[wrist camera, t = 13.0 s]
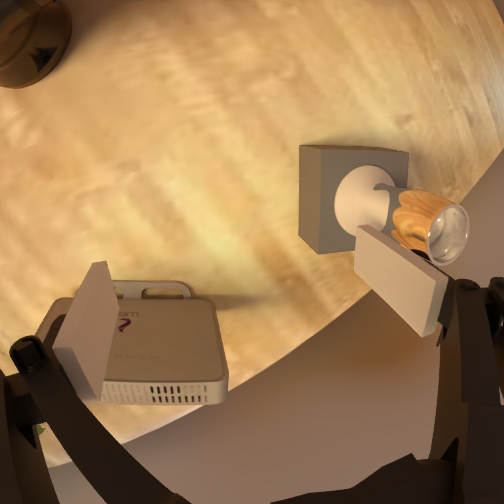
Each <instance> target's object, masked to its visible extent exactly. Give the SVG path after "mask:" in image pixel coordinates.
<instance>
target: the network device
mask: <svg viewBox="0 0 504 504" xmlns="http://www.w3.org/2000/svg"><path fill="white" fill-rule="evenodd" d="M112 283H113V287H114V288H119V289H120V290H121V291H122V292H123V299H117V301H118V304H119V307H120V309H119V313H118V317H117V321H116V325H115V330H114V334H113V338H112V343H111V347H110V352H109V357H108V362H107V367H106V372H105V377H104V382H103V388H102V393H101V399H100V403H108V404H127V405H206V404H218V403H222V402H223V401H225V400H226V398H227V396H228V379H229V370H228V366H227V361H226V357H225V352H224V347H223V343H222V338H221V333H220V328H219V323H218V319H217V314H216V309H215V304H214V303H213V302H212V301H210V300H206V299H191V292H190V290H189V289H188V287H187V286H186V285H185V284H183V283H181V282H178V281H126V280H112ZM146 288H178V289H180V290H181V291H182V292H183V297H184V299H142V291H143V290H144V289H146ZM73 300H74V298H68V297H64V298H59V299H57V300H55V301H54V303H53V304H52V306H51V308H50V309H49V311H48V313H47V314H46V316H45V318H44V319H43V321H42V323H41V325H40V326H39V328H38V330H37V332H36V333H35V335H34V336H37V337H38V338H40V340H41V342H42V343H43V341H44V339H45V337H46V334H47V332H48V331H49V328H50V326H51V324H52V322H53V321H54V320H55V319H56V318H57V317H58V316H59V315H62V314H67V313H68V311H69V309H70V307H71V304H72V302H73Z"/></svg>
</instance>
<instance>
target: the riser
mask: <svg viewBox="0 0 504 504" xmlns="http://www.w3.org/2000/svg"><path fill="white" fill-rule="evenodd" d="M408 158H409V153H407V152H402V151H397V150H391V149H385V148H380V147H362V146H330V145H299V236H300V237H301V238H302V239H303V240H304V241H305V242H306V243H307V244H308V245H309V246H310V247H311V248H312V249H313V250H314V251H315V252H316V253H317V254H318V255H319V254H327V253H336V252H345V251H353V250H355V245H356V229H357V226H359V225H367V224H369V225H370V226H372V227H373V228H375V229H377V230H378V231H380V232H381V233H383V234H384V235H386V236H388V237H389V238H391V239H392V240H394V241H395V242H397V243H398V244H400V243H399V242H398V241H397V240H396V239H395V238H394V237H393V236H392V235H391V234H390V233H389V232H388V231H387V230H386V229H385V228H384V227H383V226H382V225H380V224H378V223H374V222H370V221H367V220H365V219H364V218H363V217H362V216H361V215H360V214H359V212H358V209H357V195H358V192H359V190H360V188H361V187H362V186H363V184H364V183H366V182H367V181H369V180H371V179H374V178H379V179H383V180H385V181H386V182H388V183H389V184H391V185H392V186H394V187H397V188H407V176H408Z"/></svg>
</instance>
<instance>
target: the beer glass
mask: <svg viewBox="0 0 504 504" xmlns="http://www.w3.org/2000/svg"><path fill="white" fill-rule="evenodd" d="M357 209H358V212H359V214H360V215H361V216H362V217H363V218H364V219H365V220H367V221H370V222H374V223H378V224H380V225H382V226H383V227H384V228H385V229H386V230H387V231H388V232H389V233H390V234H391V235H392V236H393V237H394V238H395V239H396V240H397V241H398V242H399V243H400V244H402V245H403V246H404V247H406V248H407V249H408V250H410V251H412V252H413V253H415V254H417V255H419V256H421V257H422V258H425V259H427V260H429V261H431V262H433V263H434V264H436V265H439V266H444V265H447V264H450V263H451V262H453V261H454V260H455V259H456V258H457V257H458V256H459V255H460V254H461V252H462V250H463V249H464V247H465V245H466V242H467V239H468V235H469V228H470V224H469V218H468V214H467V212H466V210H465V209H464V208H463V207H462V206H460V205H458V204H455V203H454V202H452V201H450V200H448V199H446V198H444V197H442V196H439V195H437V194H435V193H432V192H428V191H425V190H419V189H410V188H397V187H394V186H392V185H391V184H389V183H388V182H386V181H385V180H383V179H379V178H374V179H371V180H369V181H367V182H366V183H364V184H363V186H362V187H361V188H360V190H359V192H358V195H357Z"/></svg>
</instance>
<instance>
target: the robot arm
mask: <svg viewBox="0 0 504 504" xmlns="http://www.w3.org/2000/svg"><path fill="white" fill-rule="evenodd" d="M71 31H72V20H71V16H70V13H69V11H68V9H67V8H66V6H65V5H64V4H63V3H62V2H61V1H59V0H0V86H1V87H5V88H11V89H19V88H24V87H27V86H30V85H32V84H34V83H36V82H38V81H39V80H41V79H42V78H43V77H45V76H46V75H47V74H48V73H49V72H50V71H51V70H52V69H53V68H54V67H55V66H56V64H57V63H58V62H59V60H60V59H61V57H62V56H63V54H64V52H65V50H66V48H67V46H68V43H69V40H70V37H71ZM354 272H355V273H356V274H357V275H358V276H359V277H360V278H362V279H363V280H364V281H365V282H366V283H367V284H368V285H369V286H370V287H371V288H372V289H373V290H374V291H375V292H376V293H377V294H378V295H379V296H381V298H383V299H384V300H385V301H386V302H387V303H388V304H389V305H390V306H391V307H392V308H393V309H394V310H395V311H396V312H397V313H398V314H399V315H400V316H401V317H402V318H403V319H404V320H405V321H406V322H407V323H408V324H409V325H410V326H411V327H412V328H413V329H414V330H415V331H416V332H417V333H418V334H419V335H420V336H421V337H424V336H427V335H429V334H432V333H434V332H435V328H436V325H437V322H440V323H441V324H442V325H443V326H442V329H441V333H440V336H439V339H438V342H437V345H436V346H439V344H440V368H439V385H438V398H437V407H436V416H435V424H434V432H433V439H432V445H431V451H430V454H429V458H428V459H422V460H416V459H415V457H414V455H413V454H412V453H411V454H409V455H407V456H404V457H402V458H401V459H398V460H396V461H394V462H392V463H389V464H387V465H385V466H383V467H381V468H380V469H378V470H377V471H376V472H374V473H373V474H371V475H370V476H369V477H367V478H366V479H364V480H363V481H361V482H360V483H359V484H357V485H356V486H354V487H352V488H349V489H344V490H336V491H326V492H315V493H307V494H304V495H300V496H296V497H292V498H289V499H285V500H280V501H276V502H272V503H270V504H504V405H501V403H500V392H499V387H500V390H501V392H502V395H503V398H504V278H503V277H493V278H491V280H490V283H489V287H487V288H480V286H479V285H478V284H477V283H475V282H474V281H472V280H468V279H457V280H454V279H453V278H452V277H450V276H449V275H447V274H446V273H444V272H443V271H442V270H439V268H437V267H436V266H434V265H433V264H431V263H430V262H428V261H427V260H424V259H422V258H420V257H418V256H417V255H415V254H413V253H412V252H411V251H409V250H408V249H406V248H405V247H403V246H402V245H400V244H398V243H397V242H395V241H394V240H392V239H391V238H389V237H388V236H386V235H384V234H383V233H381V232H380V231H378V230H377V229H375V228H373V227H372V226H370V225H369V224H367V225H359V226H357V229H356V245H355V259H354ZM119 309H120V307H119V304H118V301H117V297H116V294H115V291H114V287H113V283H112V280H111V276H110V272H109V269H108V265H107V261H102V262H96V263H92V265H91V267H90V269H89V271H88V273H87V274H86V276H85V278H84V280H83V282H82V284H81V286H80V288H79V290H78V292H77V294H76V296H75V298H74V300H73V302H72V304H71V307H70V309H69V311H68V313H67V314H62V315H59V316H58V317H57V318H56V319H55V320H54V321H53V322H52V324H51V326H50V328H49V331H48V332H47V334H46V337H45V339H44V341H43V343H42V342H41V340H40V338H38V337H37V336H33V335H31V336H25V337H23V338H20V339H19V340H18V341H16V342H15V343H14V344H13V345H12V346H11V348H10V351H9V353H10V357H11V359H12V360H13V362H14V364H15V366H16V367H17V369H18V371H19V373H16V374H13V375H10V376H6V377H5V375H4V373H3V372H2V370H1V369H0V504H60V503H59V501H58V498H57V495H56V493H55V490H54V487H53V484H52V481H51V478H50V475H49V472H48V468H47V465H46V462H45V458H44V455H43V451H42V447H41V444H40V440H39V436H38V431H37V427H36V425H37V424H41V423H44V422H47V423H48V425H49V426H50V428H51V430H52V431H53V433H54V434H55V436H56V437H57V439H58V440H59V442H60V443H61V445H62V446H63V448H64V449H65V451H66V452H67V454H68V455H69V456H70V458H71V459H72V461H73V462H74V463H75V465H76V466H77V467H78V468H79V470H80V471H81V473H82V474H83V475H84V476H85V478H86V479H87V480H88V481H89V483H90V484H91V485H92V486H93V488H94V489H95V490H96V491H97V493H98V494H99V495H100V496H101V497H102V498H103V499H104V501H105V502H106V503H107V504H191V503H190V502H188V501H187V500H186V499H185V498H183V497H182V496H180V495H179V494H177V493H173V492H171V491H170V490H169V489H168V488H166V487H165V486H164V485H163V484H162V483H161V482H159V481H158V480H157V479H156V478H155V477H154V476H153V475H152V474H150V473H149V472H148V471H147V470H146V469H145V468H144V467H143V466H142V465H141V464H140V463H139V462H138V461H137V460H136V459H134V458H133V457H132V456H131V455H130V454H129V453H128V452H127V451H126V450H125V449H124V448H123V447H122V446H121V444H120V443H119V442H118V441H117V440H116V439H115V438H114V437H113V436H112V435H111V434H110V433H109V432H108V431H107V430H106V429H105V427H104V426H103V425H102V424H101V423H100V422H99V421H98V420H97V418H96V417H95V416H94V415H93V414H92V413H91V411H90V410H89V409H88V408H87V407H86V406H85V404H84V403H100V399H101V393H102V388H103V382H104V377H105V372H106V367H107V362H108V357H109V352H110V347H111V343H112V338H113V334H114V330H115V325H116V321H117V317H118V313H119ZM502 321H503V326H501V324H502Z"/></svg>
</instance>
